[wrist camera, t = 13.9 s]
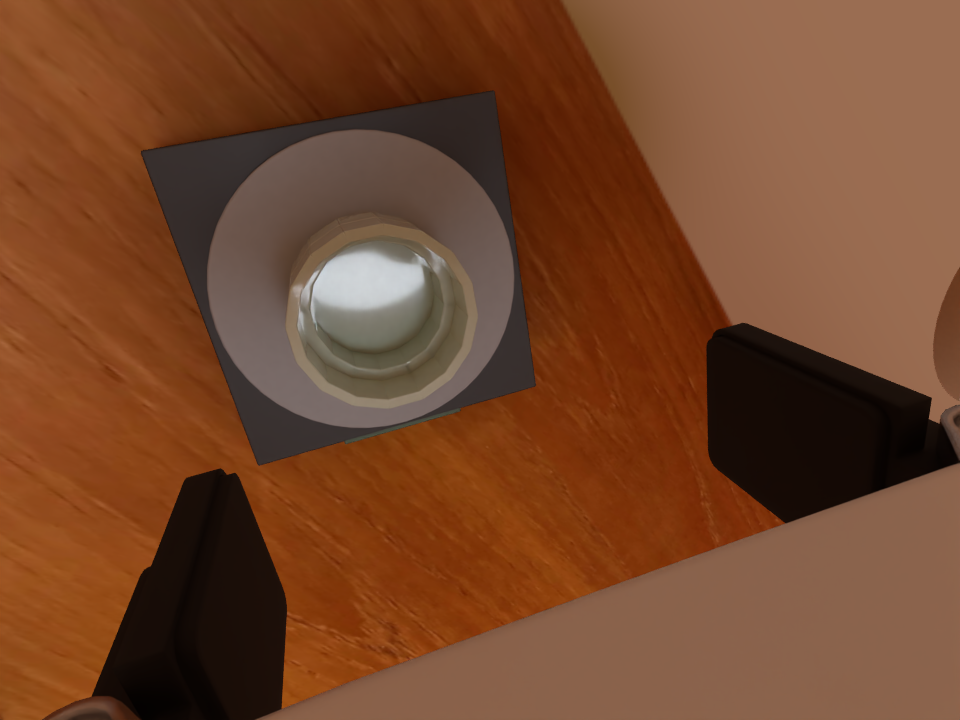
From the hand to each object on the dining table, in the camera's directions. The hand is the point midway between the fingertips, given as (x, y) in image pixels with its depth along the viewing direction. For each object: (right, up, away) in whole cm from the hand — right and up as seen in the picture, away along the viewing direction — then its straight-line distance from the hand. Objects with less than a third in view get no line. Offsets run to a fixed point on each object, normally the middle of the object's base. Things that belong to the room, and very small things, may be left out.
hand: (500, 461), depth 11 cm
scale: (-6, +6, +17) cm, 19 cm away
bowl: (-5, +5, +14) cm, 15 cm away
